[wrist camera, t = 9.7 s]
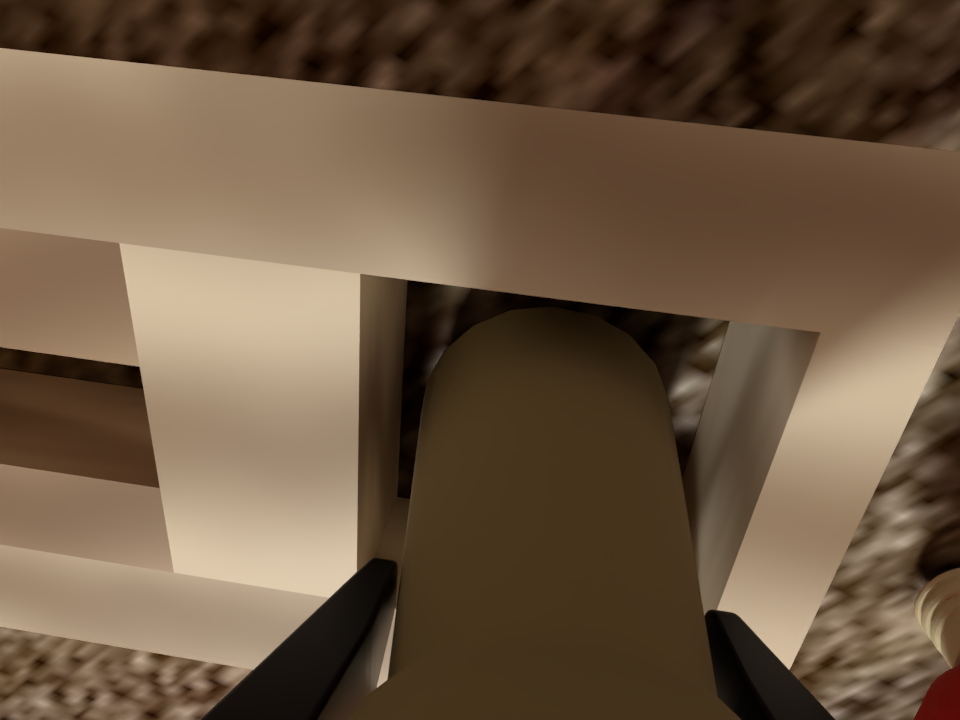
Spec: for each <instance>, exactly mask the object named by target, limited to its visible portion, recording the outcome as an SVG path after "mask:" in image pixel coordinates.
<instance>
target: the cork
mask: <svg viewBox="0 0 960 720" xmlns="http://www.w3.org/2000/svg"><path fill="white" fill-rule="evenodd" d="M349 720H741V719H740V718H739V717H738V716H737V715H736V714H735V713H734V712H733V711H732V710H731V709H730V708H729V707H728V706H727V705H726V704H725V703H723V702H722V701H721V700H720V699H719V698H718V696H717V690H716V684H715V678H714V672H713V666H712V659H711V653H710V647H709V641H708V635H707V629H706V623H705V617H704V611H703V605H702V599H701V593H700V587H699V581H698V575H697V568H696V562H695V556H694V550H693V544H692V538H691V532H690V526H689V520H688V514H687V508H686V502H685V496H684V490H683V484H682V477H681V471H680V465H679V459H678V453H677V447H676V441H675V435H674V429H673V423H672V417H671V411H670V405H669V399H668V396H667V393H666V391H665V388H664V385H663V383H662V380H661V378H660V375H659V372H658V370H657V367H656V364H655V363H654V362H653V361H652V360H651V359H650V358H649V356H648V355H647V354H646V353H645V352H644V351H643V350H642V349H641V347H640V346H639V345H638V344H637V343H636V342H635V341H634V339H633V338H632V337H631V336H630V335H628V334H627V333H625V332H623V331H621V330H620V329H618V328H616V327H614V326H613V325H611V324H609V323H607V322H606V321H604V320H602V319H600V318H599V317H597V316H595V315H591V314H587V313H582V312H577V311H573V310H568V309H563V308H559V307H554V306H551V307H540V308H529V309H517V310H510V311H507V312H505V313H503V314H500V315H498V316H495V317H493V318H491V319H488V320H486V321H483V322H481V323H478V324H476V325H474V326H472V327H471V328H470V329H469V330H468V331H466V332H465V333H464V334H463V335H462V336H461V337H459V338H458V339H457V340H456V341H455V342H454V343H452V344H451V345H450V346H449V347H448V348H447V349H445V350H444V352H443V354H442V355H441V357H440V359H439V361H438V362H437V364H436V366H435V368H434V369H433V371H432V373H431V375H430V376H429V378H428V380H427V382H426V388H425V394H424V400H423V406H422V412H421V419H420V426H419V434H418V442H417V450H416V458H415V466H414V474H413V482H412V489H411V497H410V505H409V513H408V521H407V529H406V537H405V545H404V553H403V560H402V568H401V576H400V584H399V592H398V600H397V608H396V616H395V623H394V631H393V639H392V647H391V655H390V663H389V671H388V679H387V681H385V682H384V683H383V684H381V685H380V686H379V687H377V688H376V689H375V690H373V691H372V692H371V693H369V694H368V695H367V696H365V698H364V699H363V700H362V702H361V703H360V705H359V706H358V707H357V709H356V710H355V711H354V713H353V714H352V716H351V717H350V718H349Z"/></svg>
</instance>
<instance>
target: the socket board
mask: <svg viewBox="0 0 960 720" xmlns="http://www.w3.org/2000/svg"><path fill="white" fill-rule="evenodd" d="M407 280H413V281H421V282H428V283H436V284H444V285H452V286H460V287H468V288H475V289H483V290H491V291H499V292H507V293H515V294H522V295H530V296H538V297H546V298H554V299H562V300H570V301H577V302H585V303H593V304H601V305H609V306H617V307H624V308H632V309H640V310H648V311H656V312H664V313H671V314H679V315H687V316H695V317H703V318H711V319H718V320H726V321H730V322H729V326H728V329H727V332H726V336H725V339H724V342H723V346H722V349H721V352H720V355H719V359H718V362H717V365H716V369H715V372H714V375H713V379H712V382H711V385H710V389H709V392H708V395H707V399H706V402H705V405H704V409H703V412H702V415H701V419H700V422H699V425H698V429H697V432H696V435H695V439H694V442H693V445H692V449H691V452H690V455H689V459H688V462H687V465H686V469H685V472H684V475H683V479H682V484H683V490H684V496H685V502H686V508H687V514H688V520H689V526H690V532H691V538H692V544H693V550H694V556H695V562H696V568H697V575H698V581H699V587H700V593H701V599H702V605H703V611H704V616H705V614H706V612H707V611H708V610H712V609H713V610H720V611H726V612H732V613H735V614H737V615H738V616H739V617H740V618H741V619H742V620H743V621H744V622H745V623H746V624H747V625H748V626H749V627H750V628H751V629H752V630H753V631H754V633H755V634H756V635H757V636H758V637H759V638H760V639H761V640H762V641H763V642H764V643H765V644H766V646H767V647H768V648H769V649H770V650H771V651H772V652H773V653H774V654H775V655H776V656H777V657H778V658H779V660H780V661H781V662H782V663H783V664H784V665H785V666H786V667H787V668H788V669H789V670H790V668H791V666H792V663H793V661H794V659H795V657H796V655H797V653H798V651H799V649H800V647H801V645H802V643H803V640H804V638H805V636H806V634H807V632H808V630H809V628H810V626H811V624H812V622H813V619H814V617H815V615H816V613H817V611H818V609H819V607H820V605H821V603H822V601H823V598H824V596H825V594H826V592H827V590H828V588H829V586H830V584H831V582H832V580H833V578H834V575H835V573H836V571H837V569H838V567H839V565H840V563H841V561H842V559H843V557H844V554H845V552H846V550H847V548H848V546H849V544H850V542H851V540H852V538H853V536H854V534H855V531H856V529H857V527H858V525H859V523H860V521H861V519H862V517H863V515H864V513H865V510H866V508H867V506H868V504H869V502H870V500H871V498H872V496H873V494H874V492H875V489H876V487H877V485H878V483H879V481H880V479H881V477H882V475H883V473H884V471H885V469H886V466H887V464H888V462H889V460H890V458H891V456H892V454H893V452H894V450H895V448H896V445H897V443H898V441H899V439H900V437H901V435H902V433H903V431H904V429H905V427H906V425H907V422H908V420H909V418H910V416H911V414H912V412H913V410H914V408H915V406H916V404H917V401H918V399H919V397H920V395H921V393H922V391H923V389H924V387H925V385H926V383H927V380H928V378H929V376H930V374H931V372H932V370H933V368H934V366H935V364H936V362H937V360H938V357H939V355H940V353H941V351H942V349H943V347H944V345H945V343H946V341H947V339H948V336H949V334H950V332H951V330H952V328H953V326H954V324H955V322H956V320H957V318H958V315H959V313H960V152H956V151H947V150H938V149H929V148H920V147H910V146H901V145H892V144H883V143H873V142H864V141H855V140H846V139H836V138H827V137H818V136H809V135H799V134H790V133H781V132H772V131H762V130H753V129H744V128H735V127H725V126H716V125H707V124H698V123H688V122H679V121H670V120H661V119H651V118H642V117H633V116H624V115H614V114H605V113H596V112H587V111H578V110H568V109H559V108H550V107H541V106H531V105H522V104H513V103H504V102H494V101H485V100H476V99H467V98H457V97H448V96H439V95H430V94H420V93H411V92H402V91H393V90H383V89H374V88H365V87H356V86H346V85H337V84H328V83H319V82H309V81H300V80H291V79H282V78H272V77H263V76H254V75H245V74H236V73H226V72H217V71H208V70H199V69H189V68H180V67H171V66H162V65H152V64H143V63H134V62H125V61H115V60H106V59H97V58H88V57H78V56H69V55H60V54H51V53H41V52H32V51H23V50H14V49H4V48H0V347H3V348H10V349H17V350H24V351H32V352H39V353H46V354H53V355H60V356H67V357H74V358H81V359H89V360H96V361H103V362H110V363H117V364H124V365H131V366H138V367H140V371H141V377H142V383H143V389H140V388H133V387H126V386H119V385H112V384H105V383H98V382H91V381H84V380H77V379H70V378H63V377H56V376H49V375H42V374H35V373H28V372H21V371H14V370H7V369H0V627H6V628H12V629H18V630H24V631H30V632H35V633H41V634H47V635H53V636H59V637H65V638H71V639H77V640H82V641H88V642H94V643H100V644H106V645H112V646H118V647H123V648H129V649H135V650H141V651H147V652H153V653H159V654H165V655H170V656H176V657H182V658H188V659H194V660H200V661H206V662H211V663H217V664H223V665H229V666H235V667H241V668H247V669H252V670H254V669H255V668H256V667H257V666H258V665H259V664H260V663H261V662H262V661H263V660H264V659H265V658H266V657H267V656H268V655H269V654H270V653H272V652H273V651H274V650H275V649H276V648H277V647H278V646H279V645H280V644H281V643H282V642H283V641H284V640H285V639H286V638H287V637H288V636H290V635H291V634H292V633H293V632H294V631H295V630H296V629H297V628H298V627H299V626H300V625H301V624H302V623H303V622H304V621H305V620H306V619H307V618H309V617H310V616H311V615H312V614H313V613H314V612H315V611H316V610H317V609H318V608H319V607H320V606H321V605H322V604H323V603H324V602H325V601H327V600H328V599H329V598H330V597H331V596H332V595H333V594H334V593H335V592H336V591H337V590H338V589H339V588H340V587H341V586H342V585H343V584H344V583H346V582H347V581H348V580H349V579H350V578H351V577H352V576H353V575H354V574H355V573H356V572H357V571H358V570H359V569H360V568H361V567H362V566H364V565H365V564H366V563H367V562H368V561H369V560H370V559H372V558H382V559H388V560H394V561H396V562H397V564H398V577H397V596H396V606H395V612H394V616H393V620H392V625H391V629H390V633H389V637H388V641H387V646H386V650H385V654H384V658H383V663H382V667H381V671H380V675H379V679H378V684H377V687H379V686H380V685H381V684H383V683H384V682H385V681H387V679H388V671H389V663H390V655H391V647H392V639H393V631H394V623H395V616H396V608H397V600H398V592H399V584H400V576H401V568H402V560H403V553H404V545H405V537H406V529H407V521H408V513H409V505H410V499H408V498H401V497H397V490H398V469H399V448H400V427H401V406H402V385H403V364H404V343H405V322H406V301H407Z"/></svg>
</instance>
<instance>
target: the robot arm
mask: <svg viewBox="0 0 960 720" xmlns="http://www.w3.org/2000/svg"><path fill="white" fill-rule="evenodd" d="M397 577H398V564H397V562H396V561H394V560H388V559H382V558H372V559H370V560H369V561H368V562H367V563H366V564H365V565H364V566H362V567H361V568H360V569H359V570H358V571H357V572H356V573H355V574H354V575H353V576H352V577H351V578H350V579H349V580H348V581H347V582H346V583H344V584H343V585H342V586H341V587H340V588H339V589H338V590H337V591H336V592H335V593H334V594H333V595H332V596H331V597H330V598H329V599H328V600H327V601H325V602H324V603H323V604H322V605H321V606H320V607H319V608H318V609H317V610H316V611H315V612H314V613H313V614H312V615H311V616H310V617H309V618H307V619H306V620H305V621H304V622H303V623H302V624H301V625H300V626H299V627H298V628H297V629H296V630H295V631H294V632H293V633H292V634H291V635H290V636H288V637H287V638H286V639H285V640H284V641H283V642H282V643H281V644H280V645H279V646H278V647H277V648H276V649H275V650H274V651H273V652H272V653H270V654H269V655H268V656H267V657H266V658H265V659H264V660H263V661H262V662H261V663H260V664H259V665H258V666H257V667H256V668H255V669H254V670H253V671H251V672H250V673H249V674H248V675H247V676H246V677H245V678H244V679H243V680H242V681H241V682H240V683H239V684H238V685H237V686H236V687H235V688H233V689H232V690H231V691H230V692H229V693H228V694H227V695H226V696H225V697H224V698H223V699H222V700H221V701H220V702H219V703H218V704H217V705H216V706H214V707H213V708H212V709H211V710H210V711H209V712H208V713H207V714H206V715H205V716H204V717H203V718H202V719H201V720H349V718H350V717H351V716H352V714H353V713H354V711H355V710H356V709H357V707H358V706H359V705H360V703H361V702H362V700H363V699H364V698H365V696H367V695H368V694H369V693H371V692H372V691H373V690H375V689H376V688H377V684H378V679H379V675H380V671H381V667H382V663H383V658H384V654H385V650H386V646H387V641H388V637H389V633H390V629H391V625H392V620H393V616H394V612H395V606H396V596H397ZM704 617H705V623H706V629H707V635H708V641H709V647H710V653H711V659H712V666H713V672H714V678H715V684H716V690H717V696H718V698H719V699H720V700H721V701H722V702H723V703H725V704H726V705H727V706H728V707H729V708H730V709H731V710H732V711H733V712H734V713H735V714H736V715H737V716H738V717H739V718H740V719H741V720H835V719H834V718H833V717H832V716H831V715H830V713H829V712H828V711H827V710H826V709H825V708H824V707H823V706H822V705H821V704H820V703H819V702H818V701H817V699H816V698H815V697H814V696H813V695H812V694H811V693H810V692H809V691H808V690H807V689H806V688H805V687H804V685H803V684H802V683H801V682H800V681H799V680H798V679H797V678H796V677H795V676H794V675H793V674H792V672H791V671H790V670H789V669H788V668H787V667H786V666H785V665H784V664H783V663H782V662H781V661H780V660H779V658H778V657H777V656H776V655H775V654H774V653H773V652H772V651H771V650H770V649H769V648H768V647H767V646H766V644H765V643H764V642H763V641H762V640H761V639H760V638H759V637H758V636H757V635H756V634H755V633H754V631H753V630H752V629H751V628H750V627H749V626H748V625H747V624H746V623H745V622H744V621H743V620H742V619H741V618H740V617H739V616H738V615H737V614H735V613H732V612H726V611H720V610H713V609H712V610H708V611H707V612H706V614H705V616H704Z"/></svg>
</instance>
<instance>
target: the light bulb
mask: <svg viewBox="0 0 960 720" xmlns="http://www.w3.org/2000/svg"><path fill="white" fill-rule="evenodd" d="M914 613H915V617H916V620H917V622H918V623H919V625H920V626H921V627H922V628H923V629H924V631H925V633H926V634H927V636H928V637H929V638H930V639H931V640H932V641H933V643H934V645H935V647H936V648H937V649H938V651H939V652H940V653H941V654H942V655H943V657H944V658H945V660H946V661H947V663H948V664H949V666H950V667H951V669H950V670H948V671H946V672H945V673H943V674H942V675H940V676H939V677H938V678H937V679H936V680H935V681H934V682H933V683H932V684H931V686H930V688H929V690H928V692H927V694H926V696H925V698H924V700H923V702H922V704H921V706H920V708H919V710H918V712H917V714H916V716H915V718H914V720H960V568H952V569H945V570H943V571H940V572H938V573H937V574H936V575H935V576H934V577H933V578H932V579H931V581H930V582H928V583H927V584H926V585H925V586H924V587H923V588H922V590H921V591H920V592H919V594H918V596H917V597H916V600H915V603H914Z"/></svg>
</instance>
